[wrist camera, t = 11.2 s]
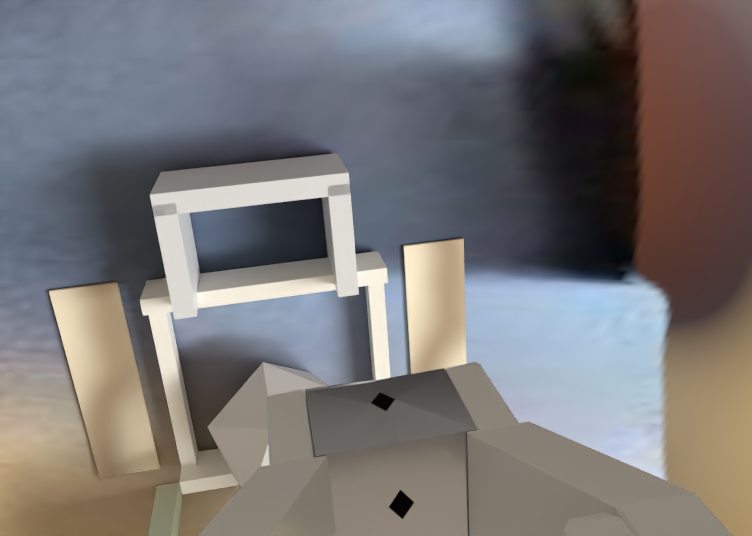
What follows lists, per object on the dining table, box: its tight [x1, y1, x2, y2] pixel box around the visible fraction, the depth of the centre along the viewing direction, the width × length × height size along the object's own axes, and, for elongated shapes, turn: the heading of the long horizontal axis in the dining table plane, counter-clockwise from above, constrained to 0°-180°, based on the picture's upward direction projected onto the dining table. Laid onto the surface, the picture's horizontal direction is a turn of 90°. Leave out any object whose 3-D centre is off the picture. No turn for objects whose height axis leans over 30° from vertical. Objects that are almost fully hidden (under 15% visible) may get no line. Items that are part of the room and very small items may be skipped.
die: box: [208, 362, 329, 487], centre depth 44 cm, size 8×9×10 cm
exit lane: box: [49, 238, 466, 478], centre depth 46 cm, size 26×14×1 cm, turn 94°
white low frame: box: [140, 153, 390, 495], centre depth 42 cm, size 14×21×5 cm
